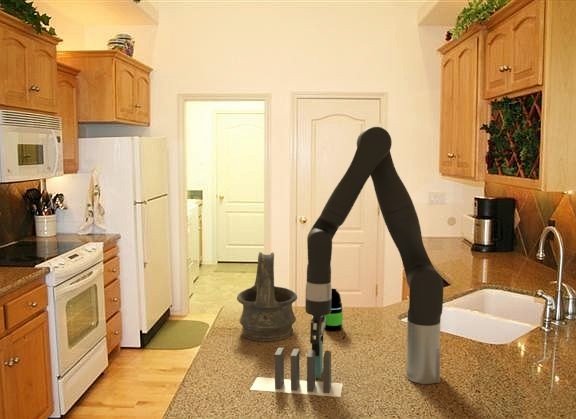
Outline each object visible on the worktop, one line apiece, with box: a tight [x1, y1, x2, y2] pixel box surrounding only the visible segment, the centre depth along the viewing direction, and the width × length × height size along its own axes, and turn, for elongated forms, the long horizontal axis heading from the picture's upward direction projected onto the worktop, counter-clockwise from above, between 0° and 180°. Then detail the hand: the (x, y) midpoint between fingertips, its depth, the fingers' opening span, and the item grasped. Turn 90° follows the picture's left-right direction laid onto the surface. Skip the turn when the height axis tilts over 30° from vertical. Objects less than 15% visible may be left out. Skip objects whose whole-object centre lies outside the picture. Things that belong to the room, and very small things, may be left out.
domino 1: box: [274, 347, 285, 389], centre depth 145 cm, size 2×5×10 cm, turn 169°
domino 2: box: [290, 348, 301, 391], centre depth 144 cm, size 2×5×10 cm, turn 169°
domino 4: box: [315, 340, 324, 379], centre depth 152 cm, size 2×5×10 cm, turn 169°
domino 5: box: [322, 350, 332, 393], centre depth 142 cm, size 2×5×10 cm, turn 169°
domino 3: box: [306, 349, 316, 392], centre depth 143 cm, size 2×5×10 cm, turn 169°
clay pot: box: [236, 252, 298, 342], centre depth 187 cm, size 22×23×30 cm
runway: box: [249, 376, 344, 398], centre depth 144 cm, size 25×8×1 cm, turn 79°
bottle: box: [324, 288, 344, 333], centre depth 191 cm, size 7×7×15 cm
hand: (317, 350), depth 151 cm, fingers open, 8 cm apart
